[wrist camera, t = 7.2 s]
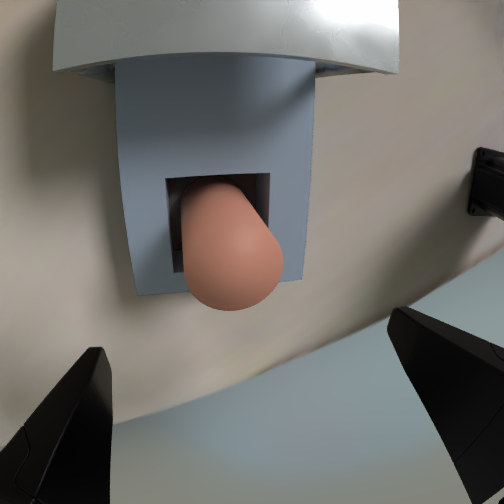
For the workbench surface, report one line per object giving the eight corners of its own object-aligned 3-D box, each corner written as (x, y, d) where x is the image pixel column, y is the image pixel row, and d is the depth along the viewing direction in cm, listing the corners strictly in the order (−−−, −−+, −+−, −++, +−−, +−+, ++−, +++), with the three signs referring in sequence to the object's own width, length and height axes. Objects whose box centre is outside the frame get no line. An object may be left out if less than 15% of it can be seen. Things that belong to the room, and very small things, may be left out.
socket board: (295, -7, 15) (314, -21, 12) (287, 257, 22) (302, 279, 20) (128, -9, 13) (120, -27, 10) (141, 271, 20) (137, 295, 18)
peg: (244, 173, 19) (285, 217, 12) (245, 233, 21) (281, 304, 14) (178, 178, 18) (179, 226, 11) (183, 239, 20) (189, 316, 13)
